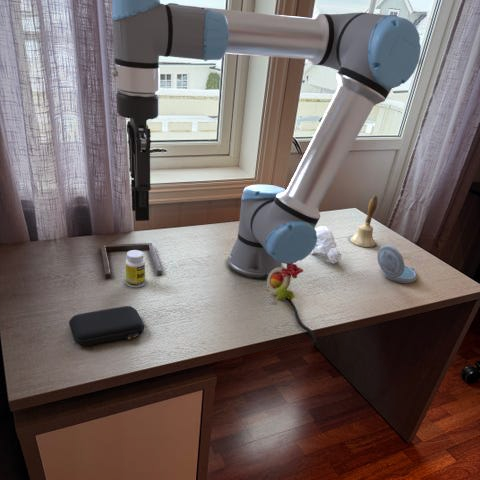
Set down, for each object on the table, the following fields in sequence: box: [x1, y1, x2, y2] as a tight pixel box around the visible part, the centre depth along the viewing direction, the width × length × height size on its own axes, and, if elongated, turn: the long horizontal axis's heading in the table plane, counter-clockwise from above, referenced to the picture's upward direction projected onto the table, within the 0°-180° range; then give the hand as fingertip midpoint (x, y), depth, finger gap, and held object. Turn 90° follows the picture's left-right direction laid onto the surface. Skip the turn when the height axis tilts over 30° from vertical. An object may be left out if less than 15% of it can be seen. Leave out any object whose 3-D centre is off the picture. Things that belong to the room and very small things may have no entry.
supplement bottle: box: [125, 250, 146, 288], centre depth 111 cm, size 5×5×8 cm
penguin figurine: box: [310, 225, 342, 265], centre depth 135 cm, size 6×8×12 cm
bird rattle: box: [265, 263, 304, 303], centre depth 113 cm, size 6×11×9 cm
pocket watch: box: [376, 244, 418, 284], centre depth 130 cm, size 10×11×15 cm
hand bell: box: [349, 195, 378, 248], centre depth 146 cm, size 8×8×16 cm
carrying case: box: [68, 305, 146, 346], centre depth 95 cm, size 11×3×15 cm
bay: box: [100, 242, 163, 280], centre depth 122 cm, size 16×14×2 cm
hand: (140, 214), depth 93 cm, fingers open, 4 cm apart
